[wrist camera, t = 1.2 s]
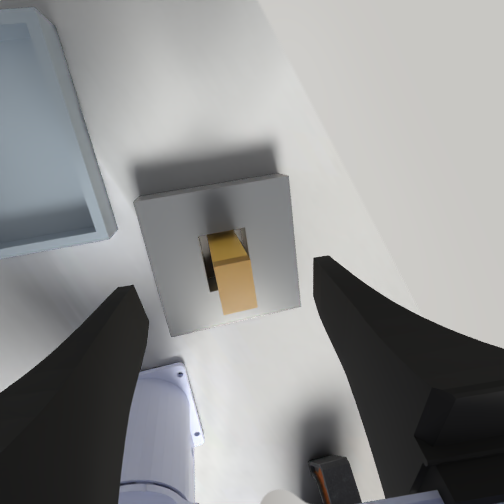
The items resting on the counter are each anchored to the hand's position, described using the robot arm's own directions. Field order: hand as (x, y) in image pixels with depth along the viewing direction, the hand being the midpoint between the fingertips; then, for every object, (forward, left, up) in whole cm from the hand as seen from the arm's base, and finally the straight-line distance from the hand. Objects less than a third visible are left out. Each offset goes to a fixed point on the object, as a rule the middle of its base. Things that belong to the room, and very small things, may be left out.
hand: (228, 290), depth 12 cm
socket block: (-2, -1, -11) cm, 11 cm away
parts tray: (+7, +11, -11) cm, 17 cm away
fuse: (-2, -1, -11) cm, 11 cm away
